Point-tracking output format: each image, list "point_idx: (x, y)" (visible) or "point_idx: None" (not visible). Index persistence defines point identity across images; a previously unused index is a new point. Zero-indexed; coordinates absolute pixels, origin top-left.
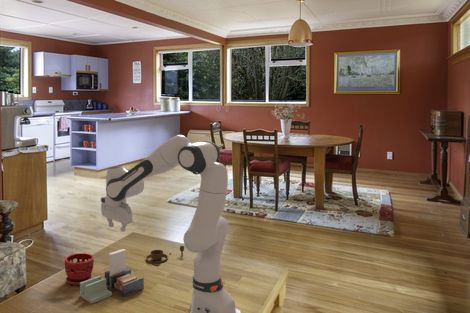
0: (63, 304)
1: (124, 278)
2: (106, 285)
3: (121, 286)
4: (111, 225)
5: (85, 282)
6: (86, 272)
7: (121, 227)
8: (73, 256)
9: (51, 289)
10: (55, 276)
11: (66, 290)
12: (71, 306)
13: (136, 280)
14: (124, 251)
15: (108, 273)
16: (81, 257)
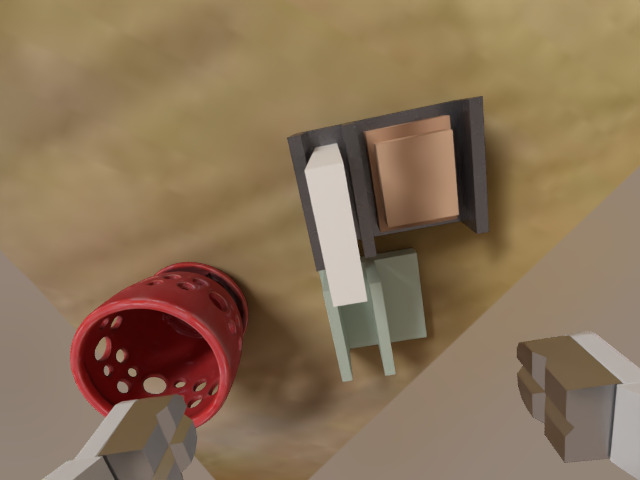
0: (360, 397)
1: (415, 193)
2: None
3: (439, 219)
4: (176, 450)
5: (348, 360)
6: (238, 322)
7: (568, 440)
8: (89, 373)
9: None
10: None
11: (259, 363)
12: (392, 383)
13: (484, 149)
14: (344, 176)
15: None
16: (95, 327)
